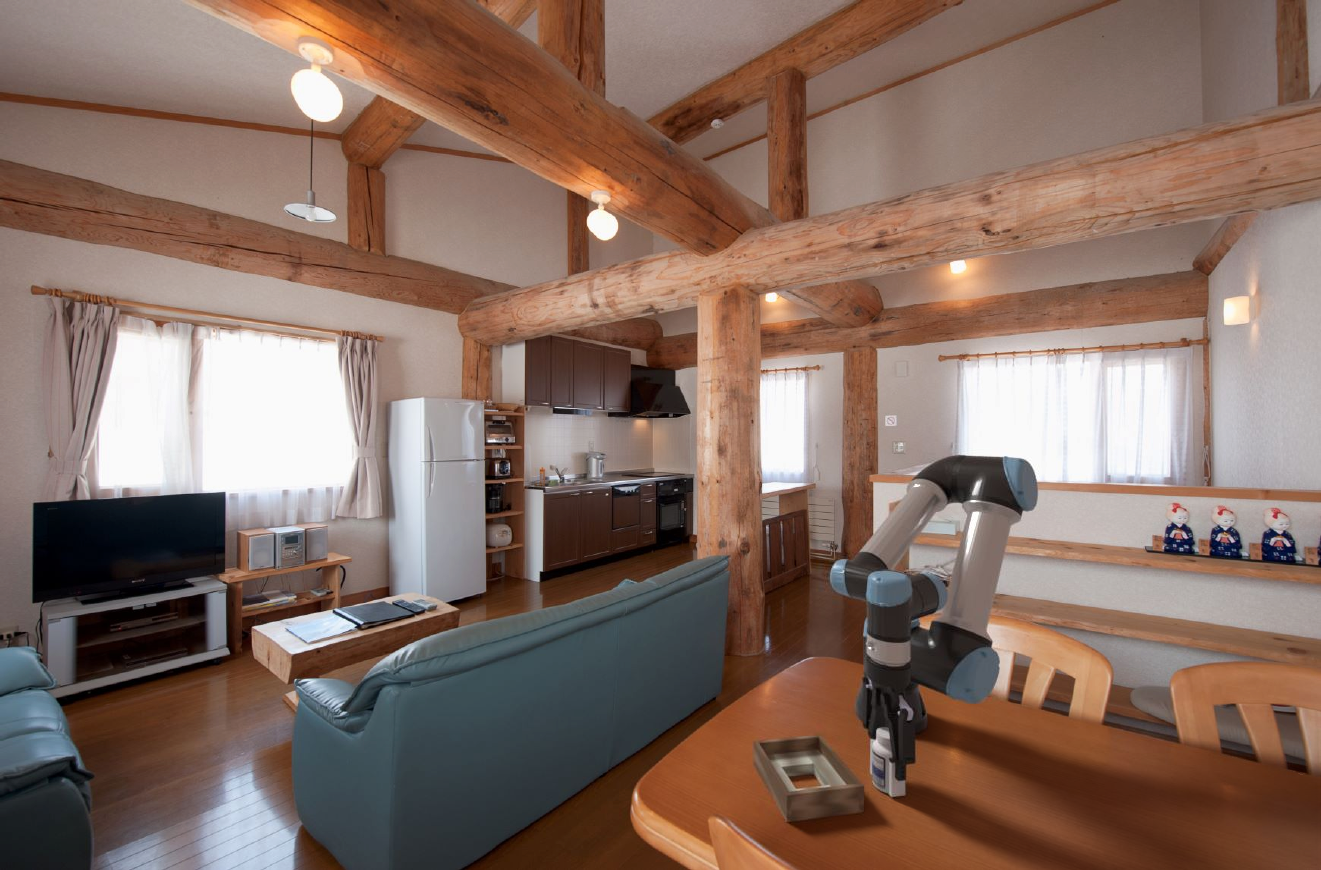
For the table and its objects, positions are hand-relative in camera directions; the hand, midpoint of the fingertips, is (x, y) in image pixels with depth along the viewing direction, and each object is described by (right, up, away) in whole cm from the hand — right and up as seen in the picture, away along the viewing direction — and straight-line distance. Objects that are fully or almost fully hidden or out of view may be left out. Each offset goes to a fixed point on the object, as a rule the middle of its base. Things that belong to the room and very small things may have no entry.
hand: (887, 783), depth 100 cm
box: (-15, 0, 0) cm, 15 cm away
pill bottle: (0, 0, 0) cm, 1 cm away
